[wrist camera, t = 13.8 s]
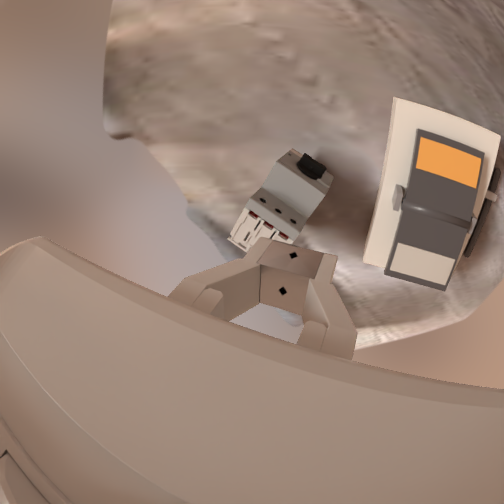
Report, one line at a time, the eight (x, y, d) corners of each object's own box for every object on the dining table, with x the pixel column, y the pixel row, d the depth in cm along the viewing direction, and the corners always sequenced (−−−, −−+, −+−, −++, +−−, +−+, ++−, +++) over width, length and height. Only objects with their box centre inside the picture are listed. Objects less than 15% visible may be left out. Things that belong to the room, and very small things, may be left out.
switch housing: (393, 96, 31) (399, 98, 24) (486, 128, 26) (511, 141, 19) (365, 242, 46) (360, 275, 39) (442, 264, 41) (449, 300, 34)
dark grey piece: (488, 151, 27) (492, 154, 26) (503, 158, 26) (507, 161, 25) (455, 251, 39) (456, 257, 38) (468, 256, 38) (470, 261, 37)
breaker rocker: (414, 128, 27) (416, 127, 26) (482, 152, 24) (486, 153, 23) (382, 269, 36) (383, 275, 34) (444, 287, 32) (446, 292, 31)
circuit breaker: (343, 161, 40) (328, 196, 29) (298, 221, 50) (270, 270, 39) (304, 135, 40) (272, 158, 29) (265, 198, 50) (226, 240, 39)
